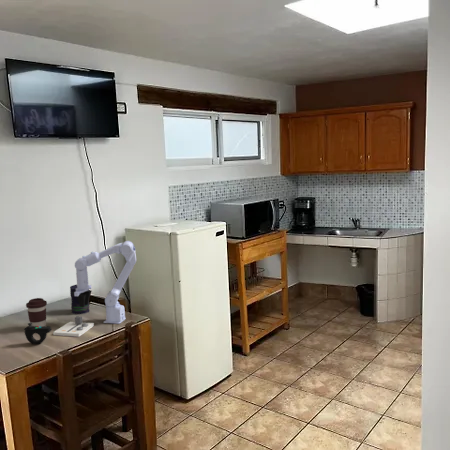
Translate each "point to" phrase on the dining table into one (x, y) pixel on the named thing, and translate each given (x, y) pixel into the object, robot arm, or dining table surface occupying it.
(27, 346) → the dining table surface
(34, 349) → the dining table surface
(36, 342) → the controller
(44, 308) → the coffee cup
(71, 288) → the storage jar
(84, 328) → the console
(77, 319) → the fader tab
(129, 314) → the dining table surface
